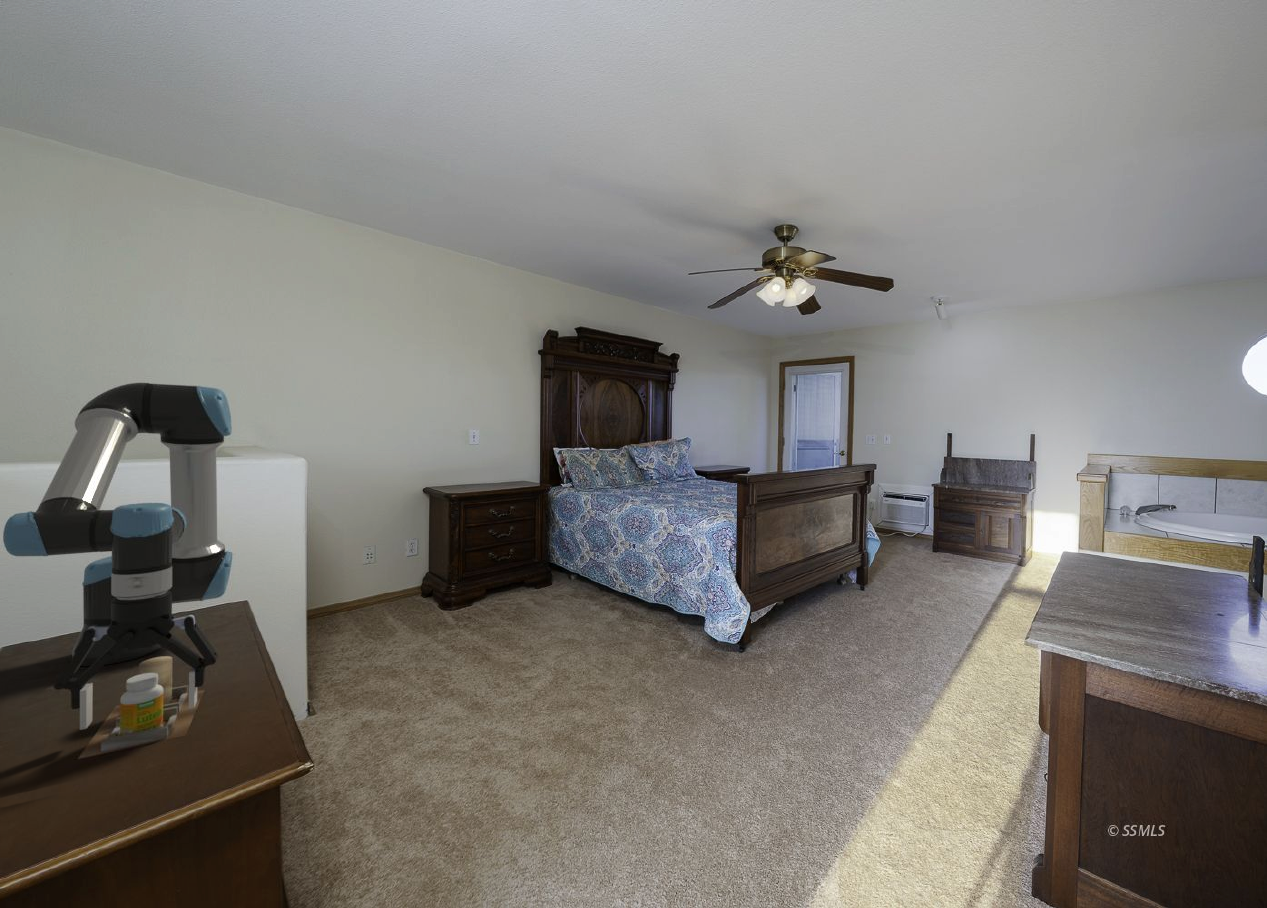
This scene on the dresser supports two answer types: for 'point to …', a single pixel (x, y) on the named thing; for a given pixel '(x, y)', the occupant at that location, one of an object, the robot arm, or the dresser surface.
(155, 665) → the beech dowel
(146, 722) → the supplement bottle
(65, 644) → the dresser surface
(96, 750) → the board
